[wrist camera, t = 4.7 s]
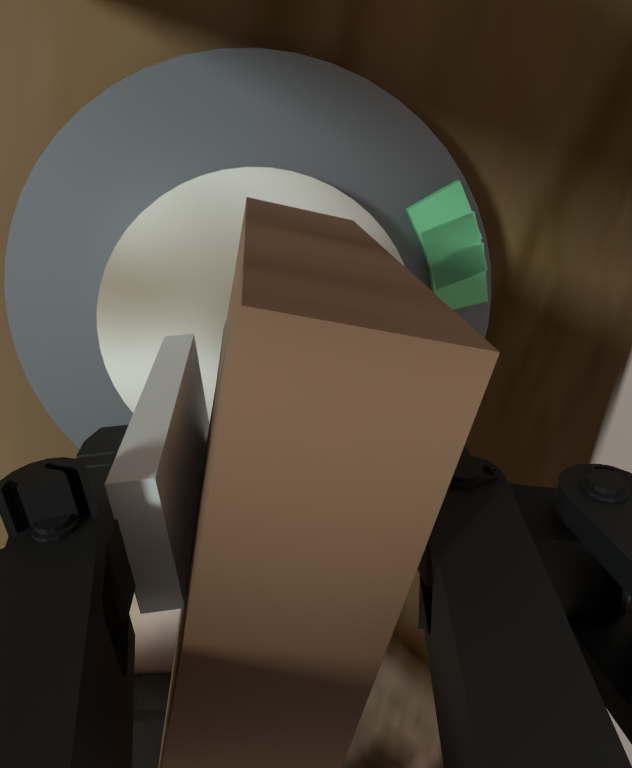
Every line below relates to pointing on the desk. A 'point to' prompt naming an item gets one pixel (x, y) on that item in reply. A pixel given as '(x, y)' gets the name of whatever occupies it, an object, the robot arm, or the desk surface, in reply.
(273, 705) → the dial
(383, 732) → the desk surface
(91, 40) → the desk surface
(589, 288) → the desk surface
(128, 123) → the plate
